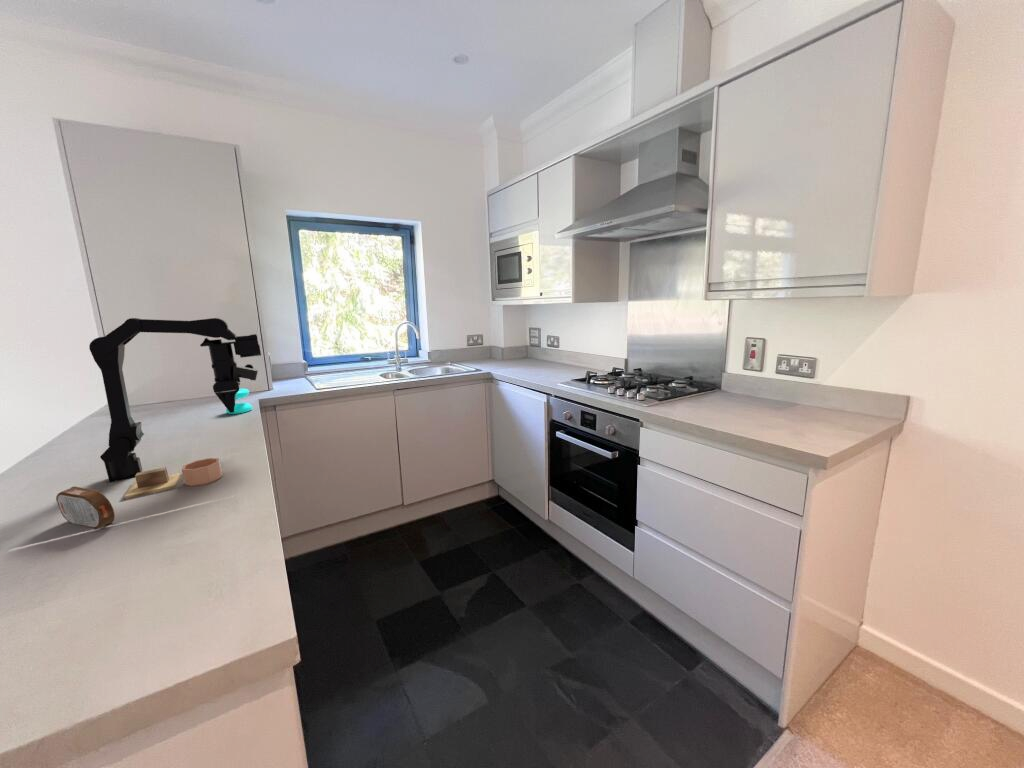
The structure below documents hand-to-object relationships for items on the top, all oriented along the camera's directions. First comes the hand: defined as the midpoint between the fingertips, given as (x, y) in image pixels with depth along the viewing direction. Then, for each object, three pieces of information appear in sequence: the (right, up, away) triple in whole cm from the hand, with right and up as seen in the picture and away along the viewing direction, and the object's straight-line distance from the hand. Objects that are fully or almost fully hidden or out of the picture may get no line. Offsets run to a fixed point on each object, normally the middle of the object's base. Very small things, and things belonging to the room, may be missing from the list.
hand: (232, 409), depth 132 cm
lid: (-7, -19, -20) cm, 29 cm away
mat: (-7, -20, -20) cm, 29 cm away
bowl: (+4, -18, -17) cm, 25 cm away
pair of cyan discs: (-37, -5, +61) cm, 71 cm away
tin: (-7, -24, -38) cm, 45 cm away
